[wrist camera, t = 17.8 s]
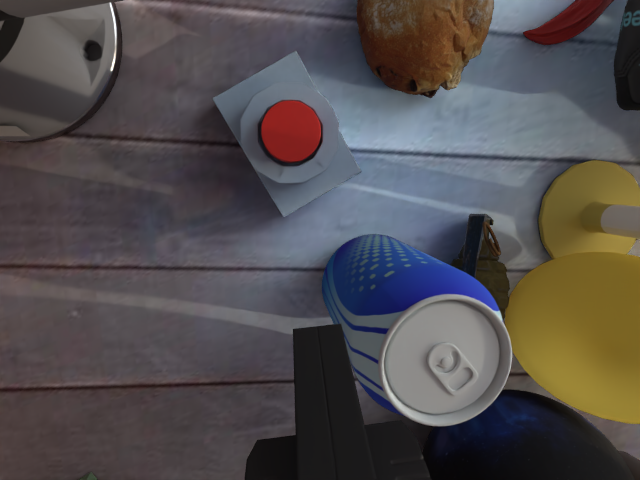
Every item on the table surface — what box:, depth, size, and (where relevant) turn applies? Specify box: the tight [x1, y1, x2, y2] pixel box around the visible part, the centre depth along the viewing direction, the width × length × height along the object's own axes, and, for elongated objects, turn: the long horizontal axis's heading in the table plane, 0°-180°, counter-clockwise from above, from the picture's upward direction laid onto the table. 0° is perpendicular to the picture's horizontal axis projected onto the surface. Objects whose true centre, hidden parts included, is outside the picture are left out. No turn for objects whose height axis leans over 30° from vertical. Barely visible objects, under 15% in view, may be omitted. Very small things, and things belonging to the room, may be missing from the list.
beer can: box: [322, 234, 512, 426], centre depth 27 cm, size 8×8×16 cm
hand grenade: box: [451, 214, 510, 320], centre depth 33 cm, size 5×6×10 cm
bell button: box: [261, 100, 321, 163], centre depth 28 cm, size 4×4×2 cm
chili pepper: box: [523, 0, 614, 45], centre depth 33 cm, size 12×5×2 cm, turn 105°
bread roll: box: [356, 0, 494, 98], centre depth 30 cm, size 10×10×8 cm
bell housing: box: [213, 51, 361, 217], centre depth 31 cm, size 10×7×4 cm
